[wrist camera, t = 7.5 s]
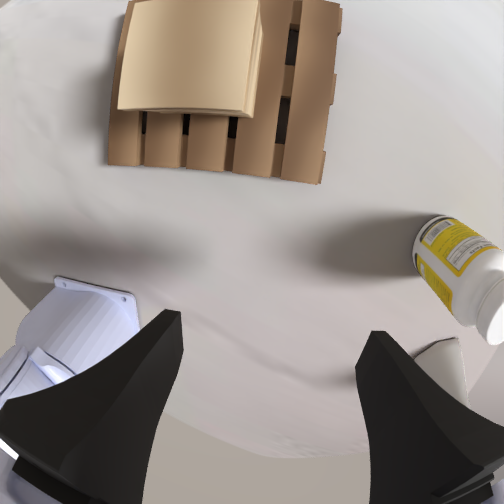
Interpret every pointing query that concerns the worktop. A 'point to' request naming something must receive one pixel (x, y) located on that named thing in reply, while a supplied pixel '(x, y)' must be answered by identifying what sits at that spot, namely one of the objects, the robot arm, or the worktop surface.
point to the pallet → (265, 110)
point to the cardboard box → (192, 57)
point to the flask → (446, 368)
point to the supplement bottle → (463, 274)
